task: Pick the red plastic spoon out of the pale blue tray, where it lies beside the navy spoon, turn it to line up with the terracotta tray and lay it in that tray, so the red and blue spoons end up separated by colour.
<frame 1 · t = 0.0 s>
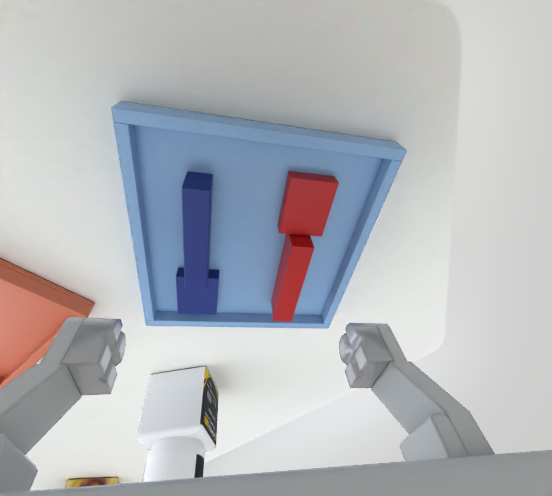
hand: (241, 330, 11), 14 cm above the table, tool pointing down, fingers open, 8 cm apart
blue tray: (253, 240, 25), on the table
medicine bottle: (186, 381, 39), on the table
candy box: (95, 479, 57), on the table
red spoon: (290, 255, 26), resting on blue tray
blue spoon: (199, 240, 24), resting on blue tray
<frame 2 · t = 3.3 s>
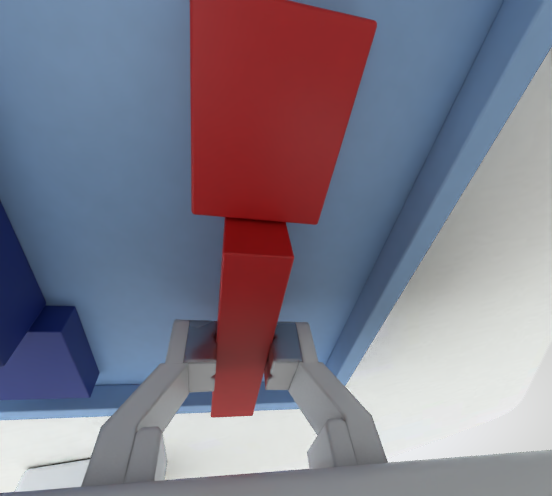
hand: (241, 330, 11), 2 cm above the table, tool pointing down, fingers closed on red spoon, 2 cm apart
blue tray: (146, 237, 10), on the table
medicine bottle: (97, 471, 23), on the table
red spoon: (244, 273, 11), resting on blue tray, touching gripper
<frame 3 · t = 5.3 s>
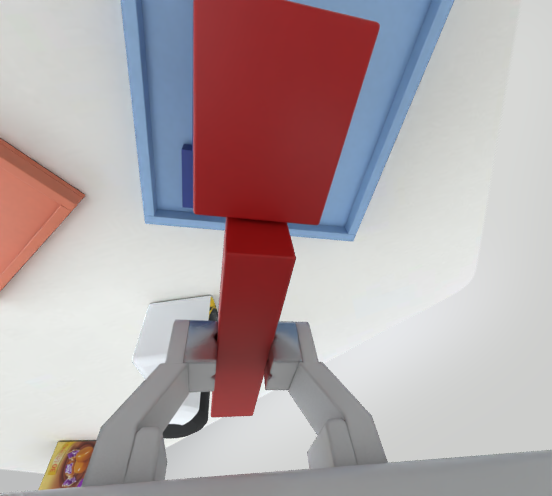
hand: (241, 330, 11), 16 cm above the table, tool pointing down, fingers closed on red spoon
blue tray: (273, 111, 21), on the table
medicine bottle: (189, 316, 35), on the table
candy box: (87, 443, 53), on the table
red spoon: (245, 273, 11), point 15 cm above the table, touching gripper
blue spoon: (210, 102, 20), resting on blue tray
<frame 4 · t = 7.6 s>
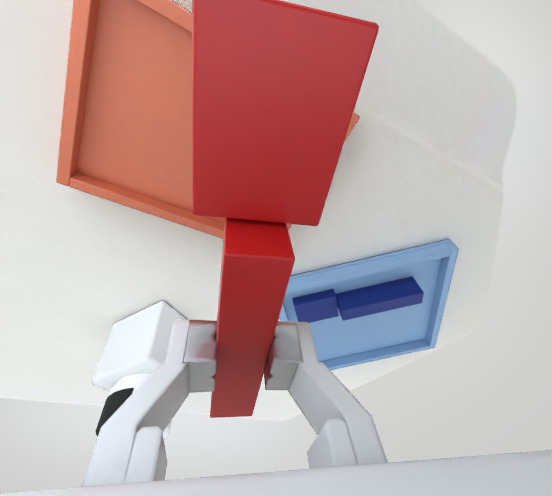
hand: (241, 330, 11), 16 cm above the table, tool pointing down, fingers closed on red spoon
blue tray: (360, 313, 37), on the table
medicine bottle: (160, 325, 35), on the table
red spoon: (245, 273, 11), point 15 cm above the table, touching gripper
blue spoon: (360, 292, 34), resting on blue tray
red tray: (208, 142, 22), on the table
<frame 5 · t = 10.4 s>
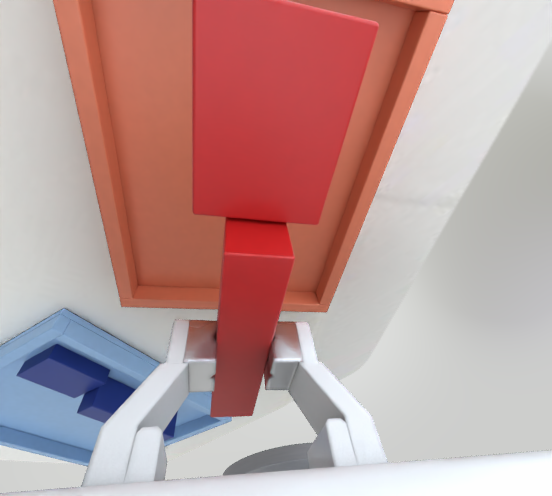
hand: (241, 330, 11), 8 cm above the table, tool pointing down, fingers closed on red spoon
blue tray: (91, 401, 28), on the table
red spoon: (245, 273, 11), point 7 cm above the table, touching gripper
blue spoon: (124, 390, 26), resting on blue tray
red tray: (243, 176, 16), on the table
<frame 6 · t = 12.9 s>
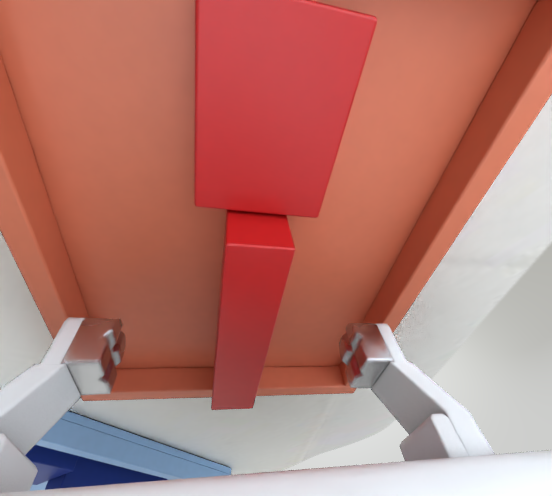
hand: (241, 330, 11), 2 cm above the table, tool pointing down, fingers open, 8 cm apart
blue tray: (63, 474, 23), on the table
red spoon: (245, 266, 11), resting on red tray
blue spoon: (101, 466, 22), resting on blue tray
red tray: (247, 238, 11), on the table
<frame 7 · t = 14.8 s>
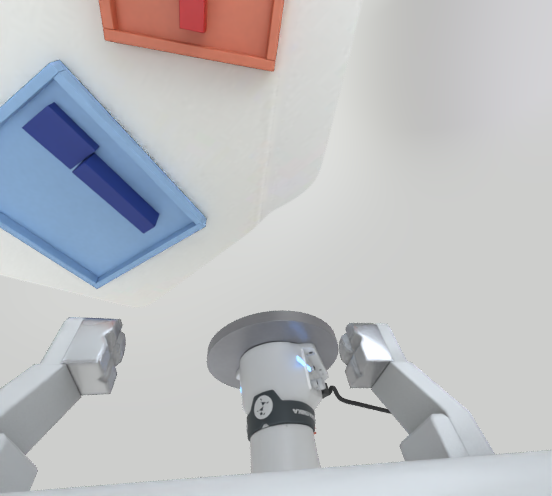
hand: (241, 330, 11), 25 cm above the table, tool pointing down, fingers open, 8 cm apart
blue tray: (85, 197, 33), on the table
blue spoon: (112, 179, 31), resting on blue tray
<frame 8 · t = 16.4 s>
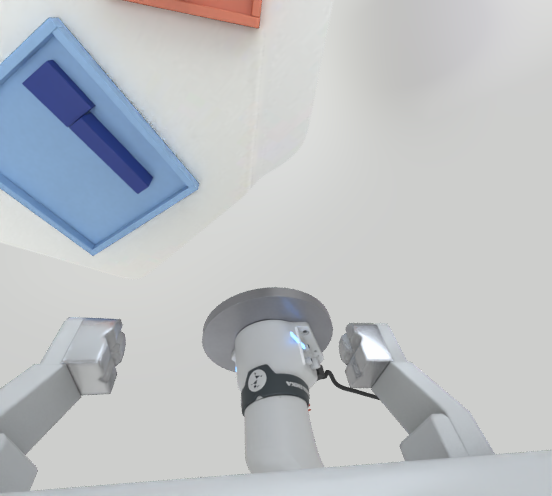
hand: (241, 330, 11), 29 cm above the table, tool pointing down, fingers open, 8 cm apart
blue tray: (82, 159, 34), on the table
blue spoon: (108, 140, 33), resting on blue tray
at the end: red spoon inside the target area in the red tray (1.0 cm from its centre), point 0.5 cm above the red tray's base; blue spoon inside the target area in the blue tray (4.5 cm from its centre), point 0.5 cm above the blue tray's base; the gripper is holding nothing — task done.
